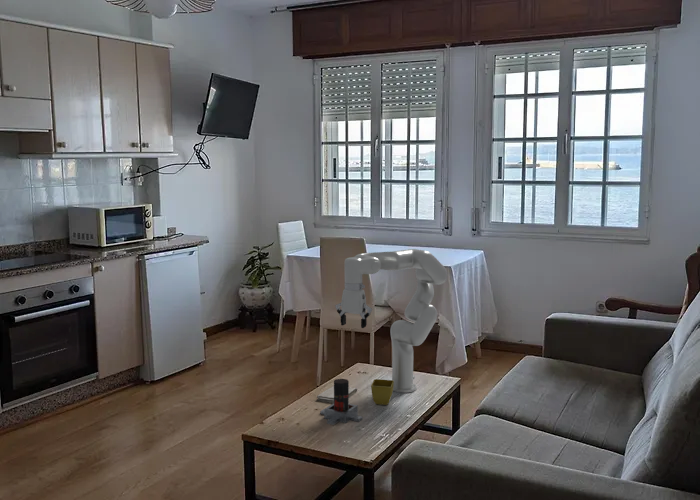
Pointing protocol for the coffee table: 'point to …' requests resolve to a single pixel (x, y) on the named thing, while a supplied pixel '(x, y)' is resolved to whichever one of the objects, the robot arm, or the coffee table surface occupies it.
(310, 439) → the coffee table surface
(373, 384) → the flower pot
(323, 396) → the washcloth
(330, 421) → the tabbed square frame
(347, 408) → the deodorant
